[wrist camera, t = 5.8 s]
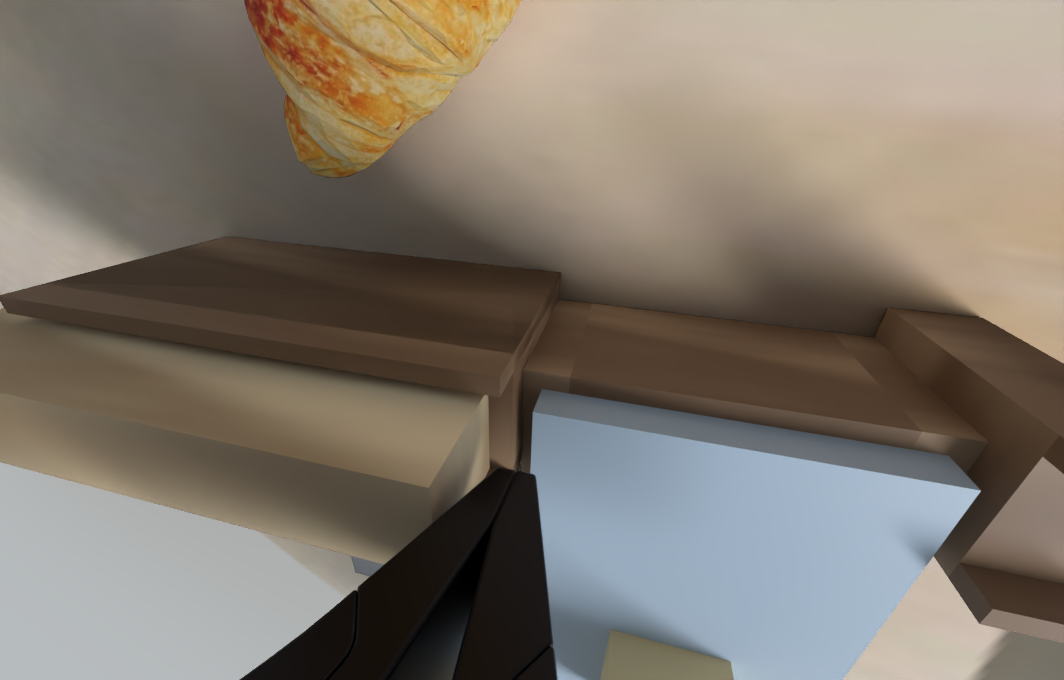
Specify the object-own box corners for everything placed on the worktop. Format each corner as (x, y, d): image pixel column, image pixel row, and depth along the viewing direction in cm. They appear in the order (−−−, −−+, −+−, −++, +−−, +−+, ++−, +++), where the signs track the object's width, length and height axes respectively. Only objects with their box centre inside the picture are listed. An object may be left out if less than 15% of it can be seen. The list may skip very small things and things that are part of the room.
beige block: (489, 468, 11) (395, 673, 7) (46, 376, 13) (-205, 481, 9) (488, 389, 9) (374, 578, 5) (5, 307, 12) (-299, 393, 8)
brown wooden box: (793, 642, 20) (858, 868, 14) (311, 520, 25) (205, 646, 19) (982, 317, 12) (1321, 509, 6) (225, 236, 17) (-3, 296, 11)
